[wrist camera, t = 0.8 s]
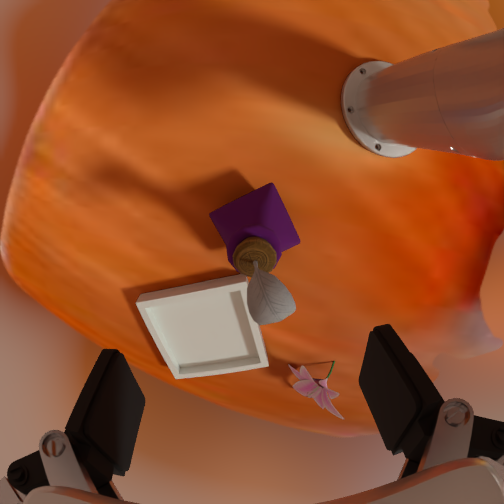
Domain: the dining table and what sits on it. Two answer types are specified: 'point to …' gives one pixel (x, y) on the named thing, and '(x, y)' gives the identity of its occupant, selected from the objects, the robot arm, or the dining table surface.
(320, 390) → the lily
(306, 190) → the dining table surface
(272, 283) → the perfume bottle
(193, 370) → the tray
